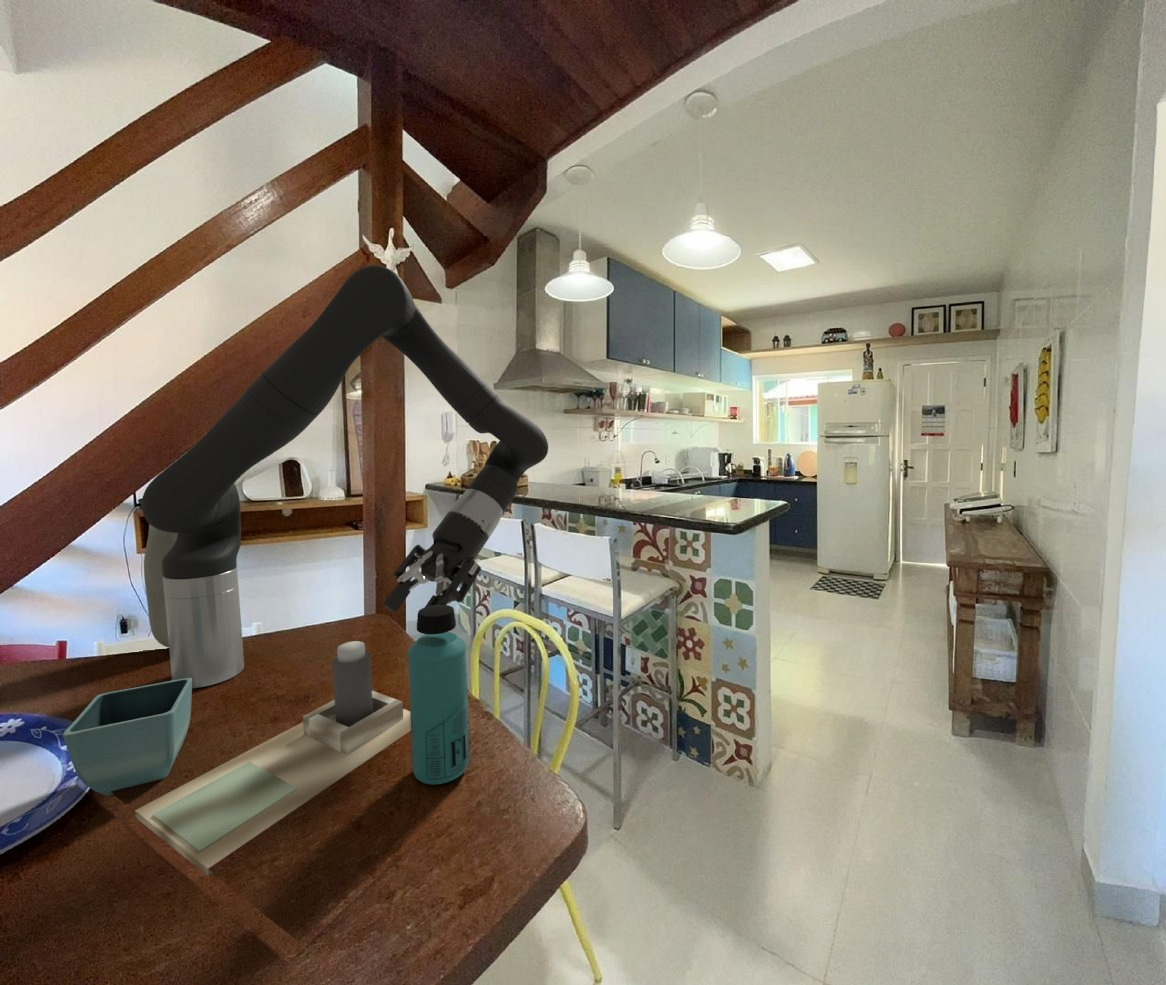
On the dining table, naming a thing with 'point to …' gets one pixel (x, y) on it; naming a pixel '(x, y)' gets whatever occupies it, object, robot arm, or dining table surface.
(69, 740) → the flower pot
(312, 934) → the dining table surface
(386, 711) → the cream tray
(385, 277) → the robot arm
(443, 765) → the beverage bottle
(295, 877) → the dining table surface
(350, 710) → the grey capped cylinder
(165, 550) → the grey tall rounded piece
